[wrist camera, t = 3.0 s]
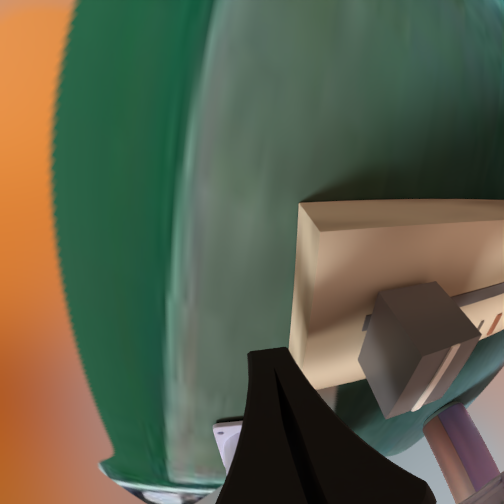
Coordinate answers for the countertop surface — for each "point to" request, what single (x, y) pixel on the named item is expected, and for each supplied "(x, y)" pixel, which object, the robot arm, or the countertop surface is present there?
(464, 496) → the beverage can
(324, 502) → the robot arm
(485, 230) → the console
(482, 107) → the countertop surface
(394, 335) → the fader
